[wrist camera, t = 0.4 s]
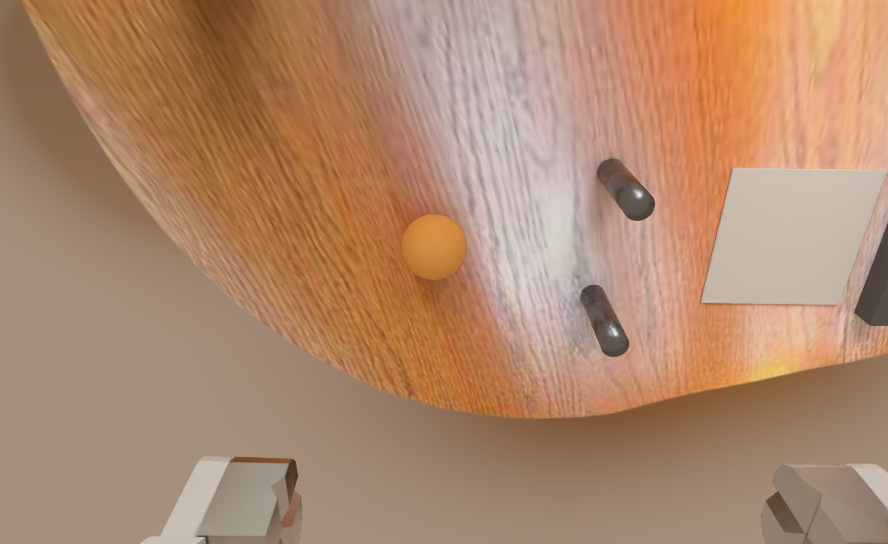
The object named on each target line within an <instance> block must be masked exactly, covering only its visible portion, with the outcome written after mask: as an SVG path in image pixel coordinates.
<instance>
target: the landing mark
mask: <svg viewBox="0 0 888 544" xmlns="http://www.w3.org/2000/svg"><path fill="white" fill-rule="evenodd" d="M886 173H887V170H852V169H788V168H732V172H731V176H730V180H729V184H728V188H727V193H726V197H725V201H724V205H723V209H722V213H721V218H720V222H719V226H718V230H717V234H716V238H715V243H714V247H713V251H712V255H711V259H710V264H709V268H708V272H707V276H706V280H705V284H704V289H703V293H702V297H701V301H700V302H701V303H750V304H819V305H839V304H840V301H841V298H842V296H843V293H844V290H845V287H846V284H847V282H848V279H849V276H850V273H851V271H852V268H853V265H854V262H855V259H856V257H857V254H858V251H859V248H860V246H861V243H862V240H863V237H864V234H865V232H866V229H867V226H868V223H869V221H870V218H871V215H872V212H873V210H874V207H875V204H876V201H877V198H878V196H879V193H880V190H881V187H882V185H883V182H884V179H885V176H886Z"/></svg>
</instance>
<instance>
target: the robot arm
mask: <svg viewBox="0 0 888 544" xmlns="http://www.w3.org/2000/svg"><path fill="white" fill-rule="evenodd" d="M297 478H298V472H297V466H296V461H295V460H293V459H285V458H284V459H283V458H257V457H211V456H205V457H203V458H202V459H201V460H200V461H199V462H198V463H197V464H196V467H195V469H194V470H193V472H192V474H191V476H190V478H189V480H188V482H187V484H186V486H185V488H184V490H183V492H182V494H181V496H180V497H179V499H178V501H177V503H176V505H175V507H174V509H173V511H172V513H171V515H170V517H169V519H168V521H167V523H166V525H165V526H164V528H163V530H162V532H161V535H160V536H157V537H156V536H154V537H149V538H147V539H146V540H145V541H143V542H142V543H141V544H298V543H299V539H300V531H301V524H302V503H301V495H300V494H298V493H297V492H296V491H295V490H294V489H295V485H296V482H297ZM772 482H773V483H774V485H775V487H776V488H777V490H778V492H776V493H775V494H774V495H773V496H771V497H770V498H768V499H767V500H766V501H765V504H764V508H763V512H762V515H761V519H762V532H763V535H764V538H765V541H766V544H888V473H887V472H886V471H885V470H884V469H883V468H881V467H879V466H878V465H876V464H843V465H840V464H782V465H781V466H780V467H779V468H778V469H777V470H776V472H775V475H774V478H773V481H772Z"/></svg>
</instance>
